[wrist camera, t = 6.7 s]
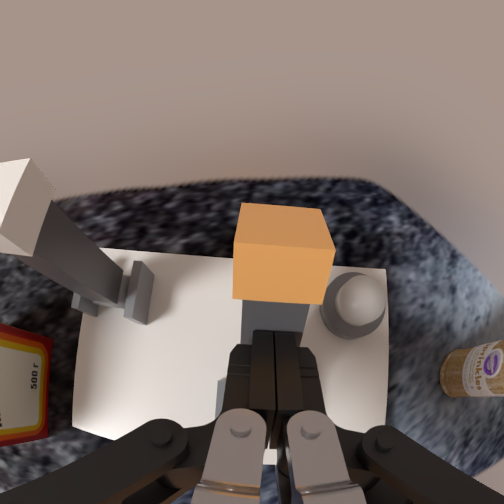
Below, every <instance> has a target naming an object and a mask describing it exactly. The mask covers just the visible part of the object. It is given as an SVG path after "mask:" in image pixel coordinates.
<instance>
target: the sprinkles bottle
mask: <svg viewBox="0 0 504 504" xmlns="http://www.w3.org/2000/svg"><path fill="white" fill-rule="evenodd" d="M440 384H441V388H442V389H443V391H444V392H445V394H447V395H448V396H450V397H453V398H455V397H460V396H467V397H468V396H472V397H504V340H499V341H495V342H491V343H486V344H482V345H478V346H476V347H473V348H468V349H456V350H454V351H452V352H451V353H450V354H449V355H447V357H446V358H445V360H444V362H443V364H442V366H441V370H440Z"/></svg>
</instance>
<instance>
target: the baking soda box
mask: <svg viewBox="0 0 504 504" xmlns="http://www.w3.org/2000/svg"><path fill="white" fill-rule="evenodd" d="M52 344H53V338H49V337H46V336H42V335H38V334H35V333H32V332H28V331H25V330H22V329H18V328H15V327H12V326H9V325H6V324H3V323H0V447H2V446H8V445H14V444H19V443H24V442H30V441H34V440H39V439H44V438H48V394H49V375H50V363H51V352H52Z"/></svg>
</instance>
